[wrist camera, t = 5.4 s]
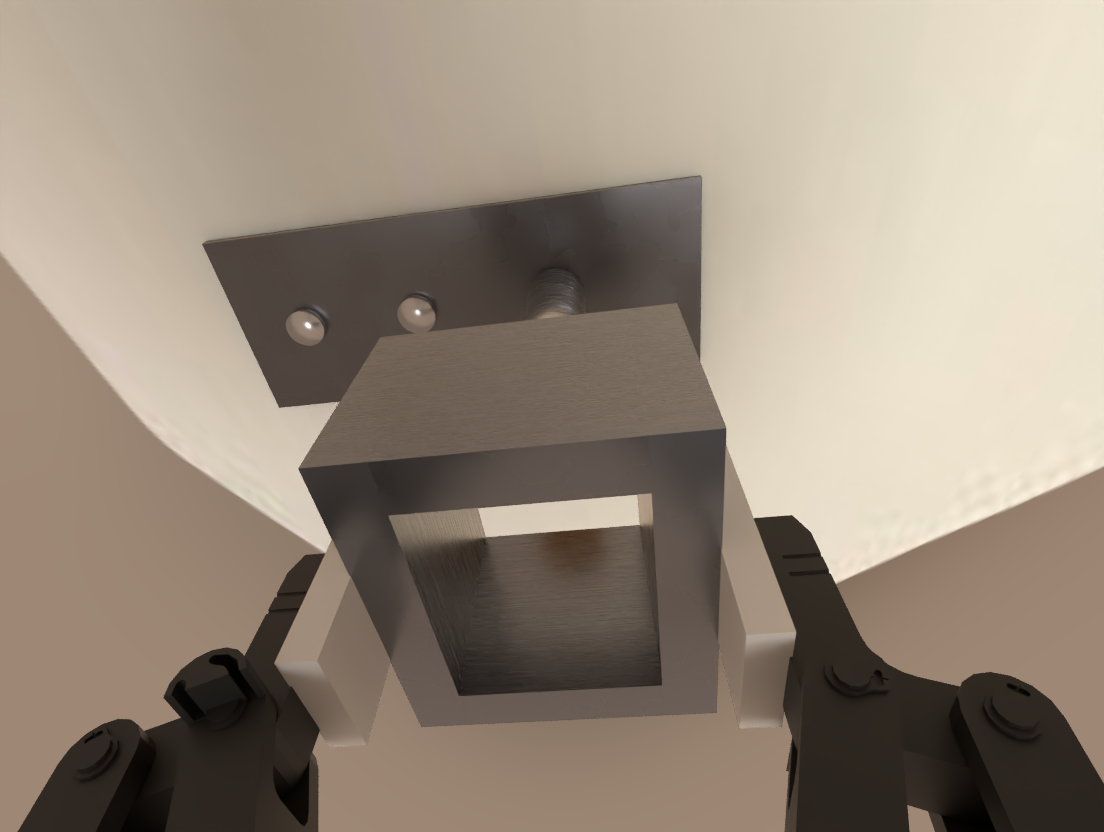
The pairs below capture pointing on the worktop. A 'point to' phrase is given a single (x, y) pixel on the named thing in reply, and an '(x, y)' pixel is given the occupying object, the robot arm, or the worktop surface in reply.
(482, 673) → the grey hollow block
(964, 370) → the worktop surface
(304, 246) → the keeper
